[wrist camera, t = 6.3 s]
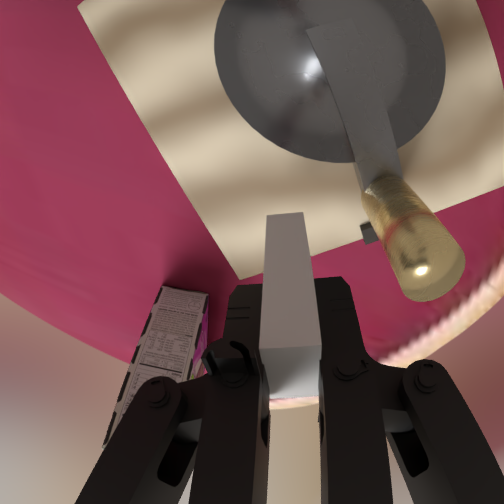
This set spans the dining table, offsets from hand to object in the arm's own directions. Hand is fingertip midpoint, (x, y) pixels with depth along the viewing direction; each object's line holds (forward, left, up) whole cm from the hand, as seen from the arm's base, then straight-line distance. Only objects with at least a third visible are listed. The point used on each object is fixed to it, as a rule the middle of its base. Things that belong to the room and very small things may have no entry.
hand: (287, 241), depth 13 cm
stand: (-6, +6, -9) cm, 12 cm away
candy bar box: (+11, -15, -9) cm, 21 cm away
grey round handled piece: (-3, +6, -7) cm, 9 cm away
